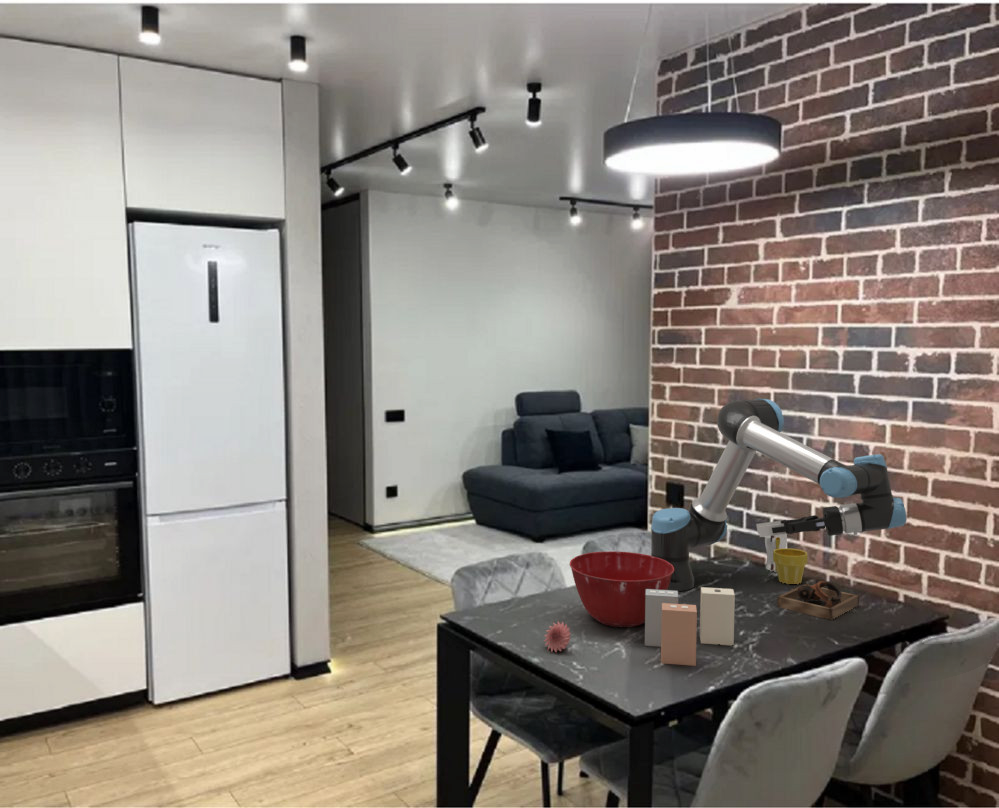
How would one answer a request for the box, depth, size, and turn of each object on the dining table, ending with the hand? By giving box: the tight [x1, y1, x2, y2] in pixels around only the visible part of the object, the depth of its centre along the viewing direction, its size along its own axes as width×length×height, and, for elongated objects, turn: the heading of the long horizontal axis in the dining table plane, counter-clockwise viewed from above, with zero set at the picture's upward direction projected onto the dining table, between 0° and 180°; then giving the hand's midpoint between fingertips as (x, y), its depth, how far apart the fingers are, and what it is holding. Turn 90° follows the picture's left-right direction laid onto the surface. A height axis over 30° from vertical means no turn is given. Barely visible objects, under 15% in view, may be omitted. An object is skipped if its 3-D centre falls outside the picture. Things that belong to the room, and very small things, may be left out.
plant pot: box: [773, 547, 808, 585], centre depth 257 cm, size 10×10×10 cm
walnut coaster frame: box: [776, 583, 860, 621], centre depth 234 cm, size 16×18×3 cm
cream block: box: [699, 587, 736, 646], centre depth 206 cm, size 8×5×13 cm, turn 79°
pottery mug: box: [797, 580, 842, 608], centre depth 234 cm, size 12×10×8 cm
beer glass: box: [764, 532, 788, 573], centre depth 271 cm, size 7×7×15 cm
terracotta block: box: [660, 603, 698, 667], centre depth 193 cm, size 8×5×13 cm, turn 79°
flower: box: [543, 621, 572, 653], centre depth 200 cm, size 8×8×6 cm
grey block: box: [644, 589, 679, 648], centre depth 204 cm, size 8×5×13 cm, turn 79°
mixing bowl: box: [569, 550, 674, 628], centre depth 222 cm, size 28×28×16 cm
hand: (757, 530), depth 218 cm, fingers open, 13 cm apart
